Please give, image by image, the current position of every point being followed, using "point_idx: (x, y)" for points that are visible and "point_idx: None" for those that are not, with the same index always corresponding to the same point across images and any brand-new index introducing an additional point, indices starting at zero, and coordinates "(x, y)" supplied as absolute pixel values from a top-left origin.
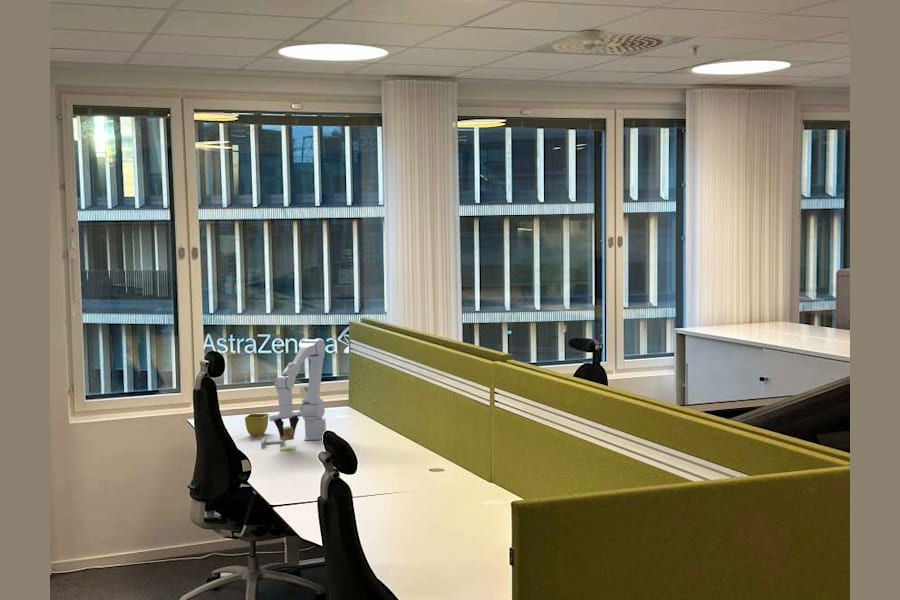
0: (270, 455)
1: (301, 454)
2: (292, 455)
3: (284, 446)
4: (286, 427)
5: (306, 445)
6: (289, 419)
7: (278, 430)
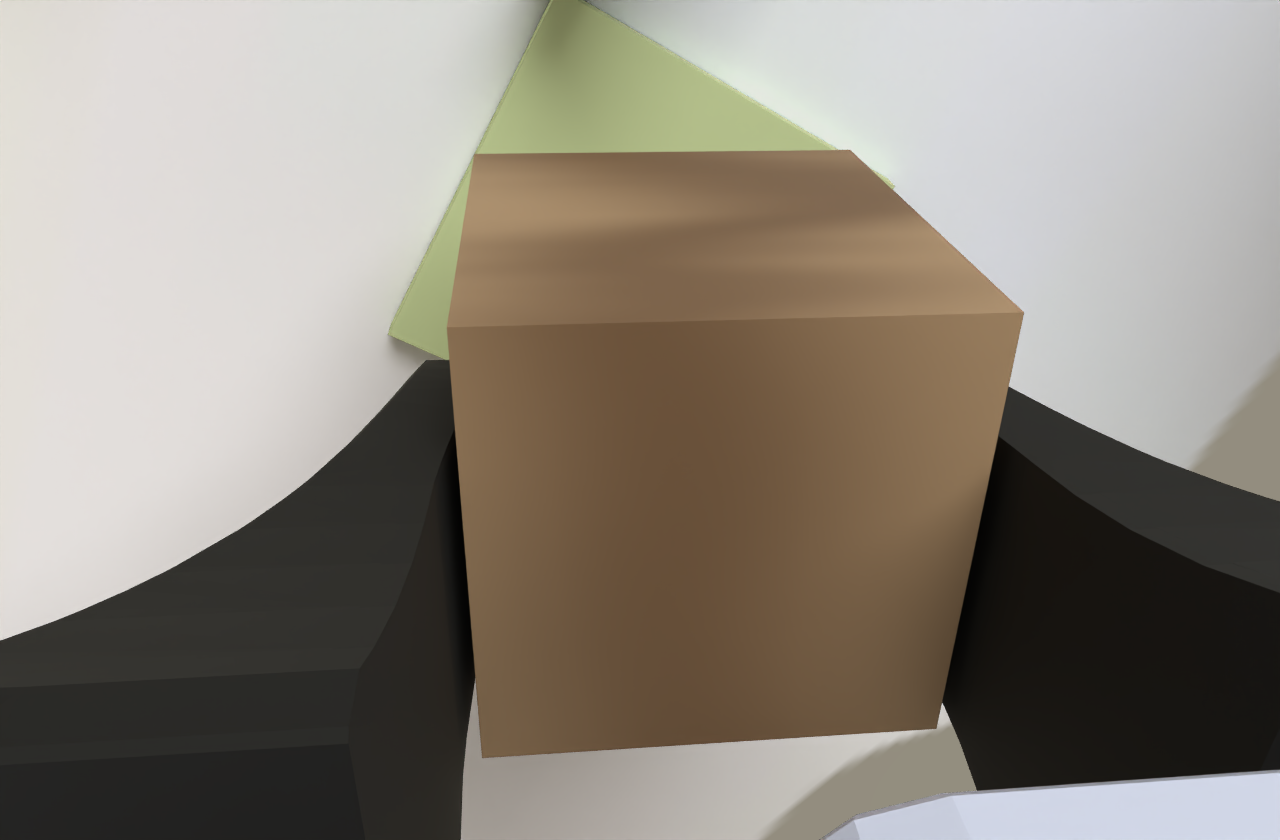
0: (61, 571)
1: (623, 807)
2: (464, 786)
3: (623, 73)
4: (764, 519)
5: (1120, 261)
6: (1249, 622)
7: (347, 457)
